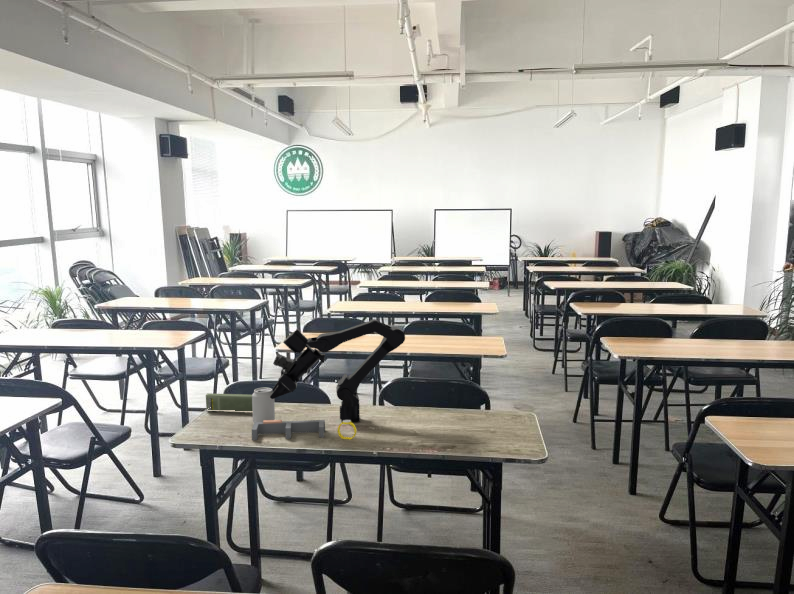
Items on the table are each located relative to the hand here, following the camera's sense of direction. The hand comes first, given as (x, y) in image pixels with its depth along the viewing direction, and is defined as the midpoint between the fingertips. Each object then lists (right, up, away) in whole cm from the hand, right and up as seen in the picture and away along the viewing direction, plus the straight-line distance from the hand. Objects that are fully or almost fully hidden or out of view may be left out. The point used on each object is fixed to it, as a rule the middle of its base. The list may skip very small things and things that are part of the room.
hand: (272, 394), depth 200 cm
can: (-3, -10, +1) cm, 11 cm away
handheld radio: (-15, -9, +14) cm, 22 cm away
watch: (+27, -12, -14) cm, 33 cm away
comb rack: (+8, -11, -11) cm, 18 cm away
